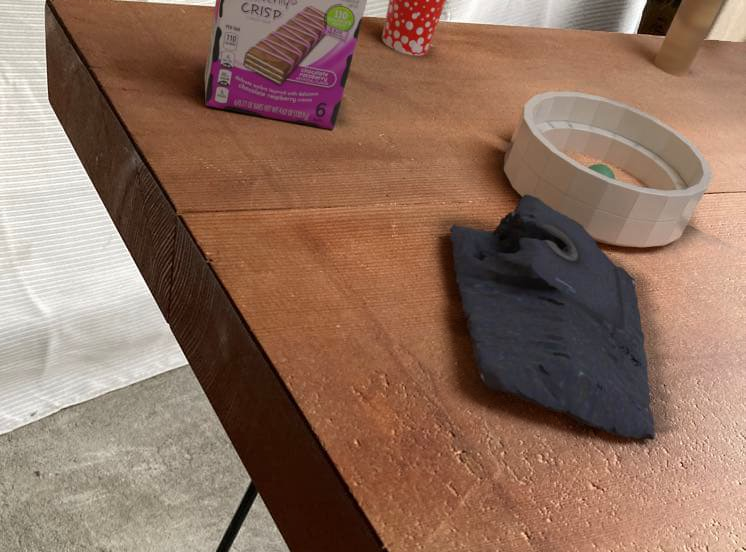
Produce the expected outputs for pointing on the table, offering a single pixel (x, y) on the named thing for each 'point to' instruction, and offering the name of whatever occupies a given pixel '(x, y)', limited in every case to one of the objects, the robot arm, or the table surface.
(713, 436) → the table surface
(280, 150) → the table surface
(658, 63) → the cylinder
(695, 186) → the wide hollow ring
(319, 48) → the candy bar box
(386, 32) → the beverage cup
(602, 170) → the bead
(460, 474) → the table surface
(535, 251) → the dark slate chunk
